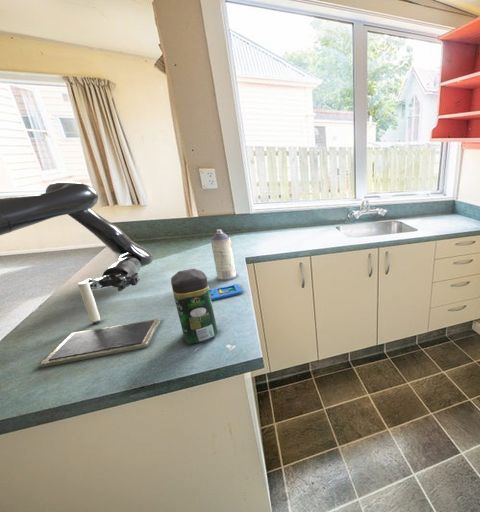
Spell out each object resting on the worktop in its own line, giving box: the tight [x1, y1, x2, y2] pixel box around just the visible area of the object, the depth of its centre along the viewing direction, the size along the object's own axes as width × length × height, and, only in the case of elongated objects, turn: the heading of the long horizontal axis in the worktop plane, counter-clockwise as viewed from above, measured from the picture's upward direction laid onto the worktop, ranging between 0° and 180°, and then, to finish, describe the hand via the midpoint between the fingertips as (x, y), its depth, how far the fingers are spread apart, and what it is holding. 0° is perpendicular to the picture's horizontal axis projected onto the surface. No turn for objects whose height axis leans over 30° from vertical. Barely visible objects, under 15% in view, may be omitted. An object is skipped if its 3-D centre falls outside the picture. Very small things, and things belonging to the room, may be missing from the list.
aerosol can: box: [210, 229, 237, 282], centre depth 118 cm, size 7×7×20 cm
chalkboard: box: [40, 318, 162, 368], centre depth 78 cm, size 20×14×1 cm
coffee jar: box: [170, 268, 218, 344], centre depth 79 cm, size 10×8×19 cm
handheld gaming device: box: [209, 283, 243, 301], centre depth 106 cm, size 8×1×15 cm
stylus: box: [77, 280, 102, 325], centre depth 85 cm, size 2×2×13 cm
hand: (102, 290), depth 92 cm, fingers open, 8 cm apart
